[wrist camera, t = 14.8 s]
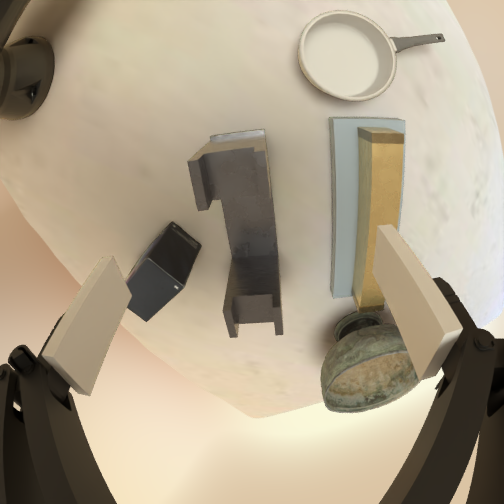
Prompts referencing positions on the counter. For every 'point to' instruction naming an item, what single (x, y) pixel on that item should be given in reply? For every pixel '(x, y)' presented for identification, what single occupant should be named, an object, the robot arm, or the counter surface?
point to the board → (349, 194)
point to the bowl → (366, 365)
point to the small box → (161, 271)
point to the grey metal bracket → (243, 223)
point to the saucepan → (352, 54)
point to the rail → (375, 206)
